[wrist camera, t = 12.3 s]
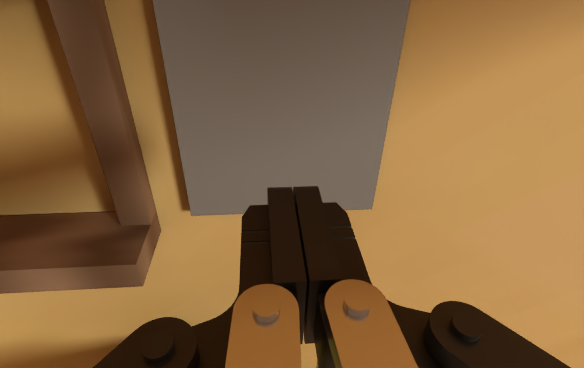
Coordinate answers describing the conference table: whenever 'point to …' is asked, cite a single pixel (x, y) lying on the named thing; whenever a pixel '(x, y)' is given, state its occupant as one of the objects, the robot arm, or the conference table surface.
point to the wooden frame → (117, 169)
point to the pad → (280, 96)
